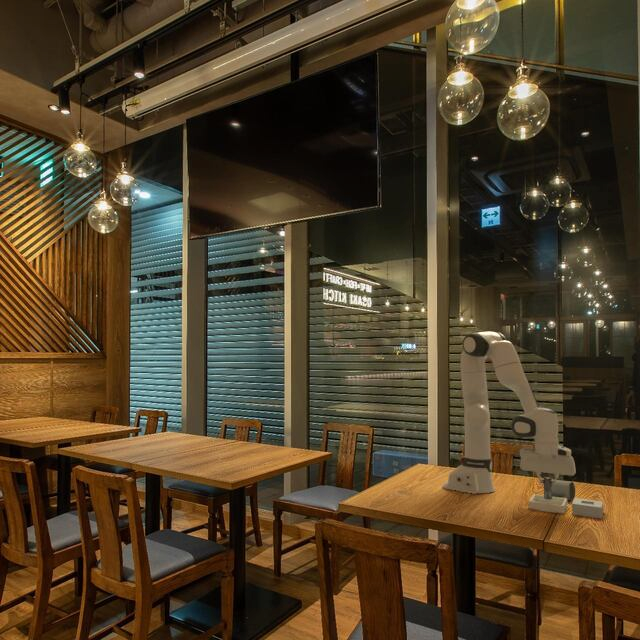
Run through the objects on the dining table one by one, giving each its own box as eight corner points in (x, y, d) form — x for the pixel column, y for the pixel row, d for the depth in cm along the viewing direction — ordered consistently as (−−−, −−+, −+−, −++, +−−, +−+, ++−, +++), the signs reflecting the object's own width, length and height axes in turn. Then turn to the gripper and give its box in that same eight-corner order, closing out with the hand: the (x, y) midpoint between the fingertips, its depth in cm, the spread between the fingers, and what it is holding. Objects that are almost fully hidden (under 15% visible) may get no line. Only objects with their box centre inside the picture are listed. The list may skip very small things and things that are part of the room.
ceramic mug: (556, 495, 225) (555, 477, 225) (576, 499, 219) (575, 480, 220) (546, 500, 217) (546, 481, 218) (566, 504, 212) (566, 485, 212)
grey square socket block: (572, 514, 197) (571, 503, 197) (574, 508, 205) (574, 497, 206) (602, 518, 192) (601, 507, 192) (603, 512, 200) (603, 501, 200)
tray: (528, 508, 203) (528, 501, 204) (533, 501, 214) (533, 494, 214) (564, 514, 197) (563, 506, 197) (567, 506, 208) (567, 498, 208)
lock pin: (543, 498, 205) (542, 478, 206) (544, 497, 208) (544, 476, 208) (551, 499, 204) (551, 479, 204) (552, 498, 206) (552, 477, 207)
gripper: (518, 447, 210) (518, 482, 209) (573, 452, 199) (575, 489, 198) (520, 445, 215) (521, 479, 214) (575, 450, 205) (576, 485, 204)
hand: (547, 484), depth 206 cm, fingers closed on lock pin, 3 cm apart
